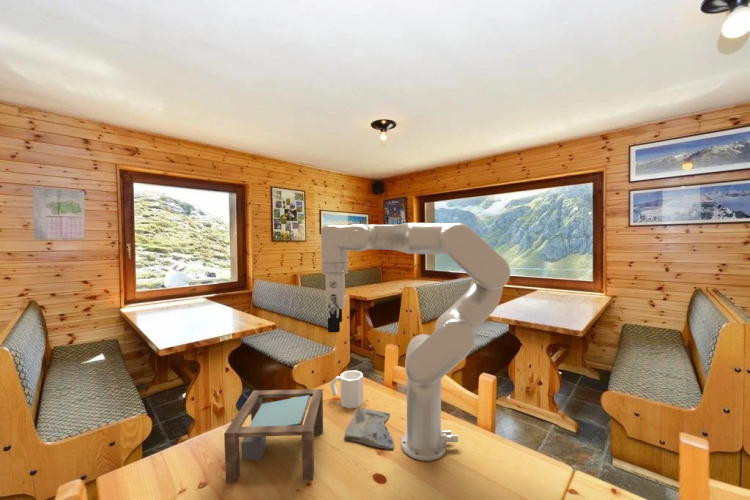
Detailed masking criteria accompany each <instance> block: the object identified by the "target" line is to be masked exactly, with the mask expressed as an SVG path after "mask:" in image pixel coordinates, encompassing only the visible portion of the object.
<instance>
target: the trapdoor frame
mask: <svg viewBox="0 0 750 500" xmlns="http://www.w3.org/2000/svg"><path fill="white" fill-rule="evenodd" d="M323 393H324V389H323V388H321V389H320V388H317V389H316V388H315V389H314V388H313V389H307V388H306V389H269V390H267V389H266V390H265V389H264V390H253V391H252V392H251V394H250V395H249V397H248V398H247V400H246V401H245V402H244V404H243V405H242V406H241V408H240V410H239V411H238V413H237V414H236V415H235V417H234V419H233V420H232V421H231V423H230V424H229V426H228V427H227V428H226V430H225V432H224V433H223V434H224V439H223V440H224V462H225V467H224V468H225V483H226V484H232V483H234V484H235V483H237V482H238V480H239V478H240V476H241V462H240V461H241V457H240V438H244V437H259V436H266V437H289V436H291V437H292V436H293V437H294V436H301V463H302V464H301V467H302V468H301V469H302V470H301V471H302V473H301V475H302V481H303V482H304V481H314V476H315V441H314V440H315V437H314V435H315V434H316V435H317V434H323V431H324V397H323V396H324V394H323ZM307 395H310V396H311V398H310V401H309V403H310V404H309V405H308V408H307V411H306V414H305V418H304V421H303V422H304V423H303V424H302V425H296V426H255V427H249V426H243V425H244V423H245V422H246V420H247V418H248V417H249V415H250V417H251V418H250V419H251V420H250V421H251V422H252V420H253V419H254V417H255V415H256V413H257V412H258V410H259V408H260V407H261V405H262V404H263V399H264V398H265V399H267V398H269V399H270V398H296V397H302V396H307ZM251 422H250V423H251Z"/></svg>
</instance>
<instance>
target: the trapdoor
mask: <svg viewBox="0 0 750 500" xmlns="http://www.w3.org/2000/svg"><path fill="white" fill-rule="evenodd" d="M311 399H312V397H311V396H310V395H307V396H302V397H290V398H286V399H285V398H284V399H280V400H277V401H275V400H274V401H270V402H265V403H262V405H261V407H260V408H259V410H258V412H257V413H256V415H255V417H254V419H253V420H252V422H250V424H249V425H248V427H255V426H296V425H303V424H304V423H303V422H304V421H305V418H306V415H307V411H308V408H309V405H310V404H309V403H310V402H311Z"/></svg>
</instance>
